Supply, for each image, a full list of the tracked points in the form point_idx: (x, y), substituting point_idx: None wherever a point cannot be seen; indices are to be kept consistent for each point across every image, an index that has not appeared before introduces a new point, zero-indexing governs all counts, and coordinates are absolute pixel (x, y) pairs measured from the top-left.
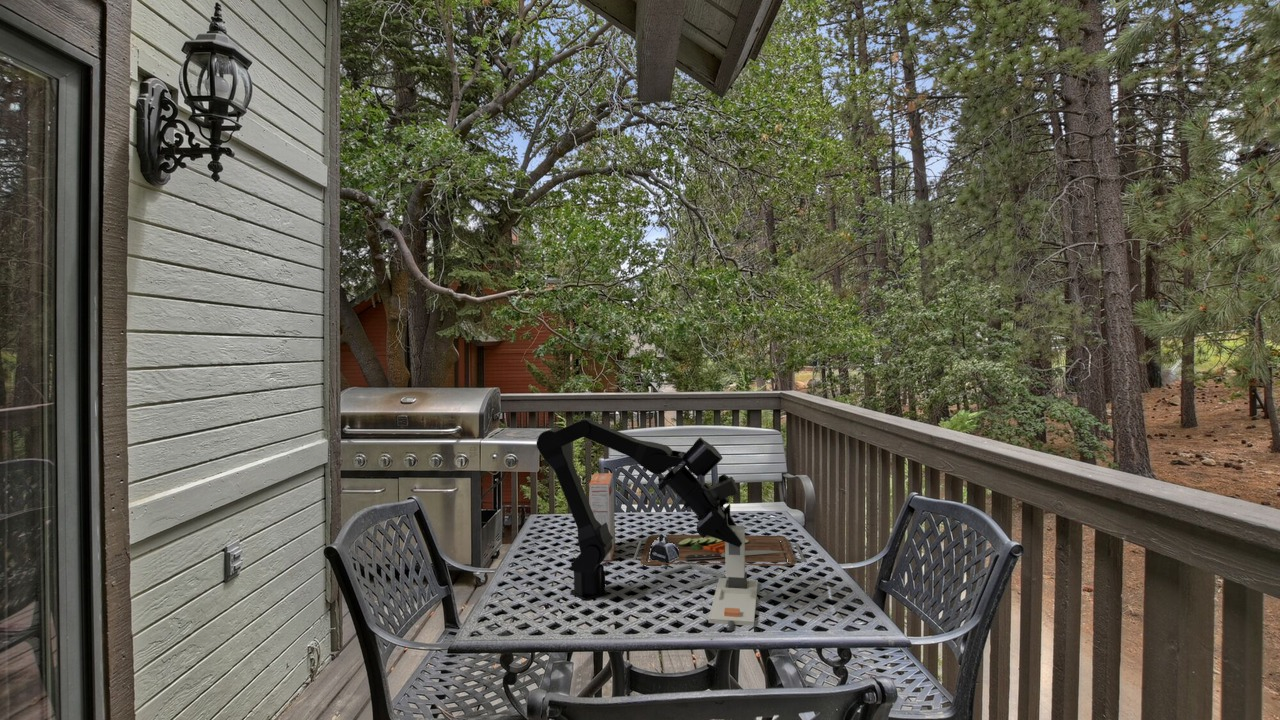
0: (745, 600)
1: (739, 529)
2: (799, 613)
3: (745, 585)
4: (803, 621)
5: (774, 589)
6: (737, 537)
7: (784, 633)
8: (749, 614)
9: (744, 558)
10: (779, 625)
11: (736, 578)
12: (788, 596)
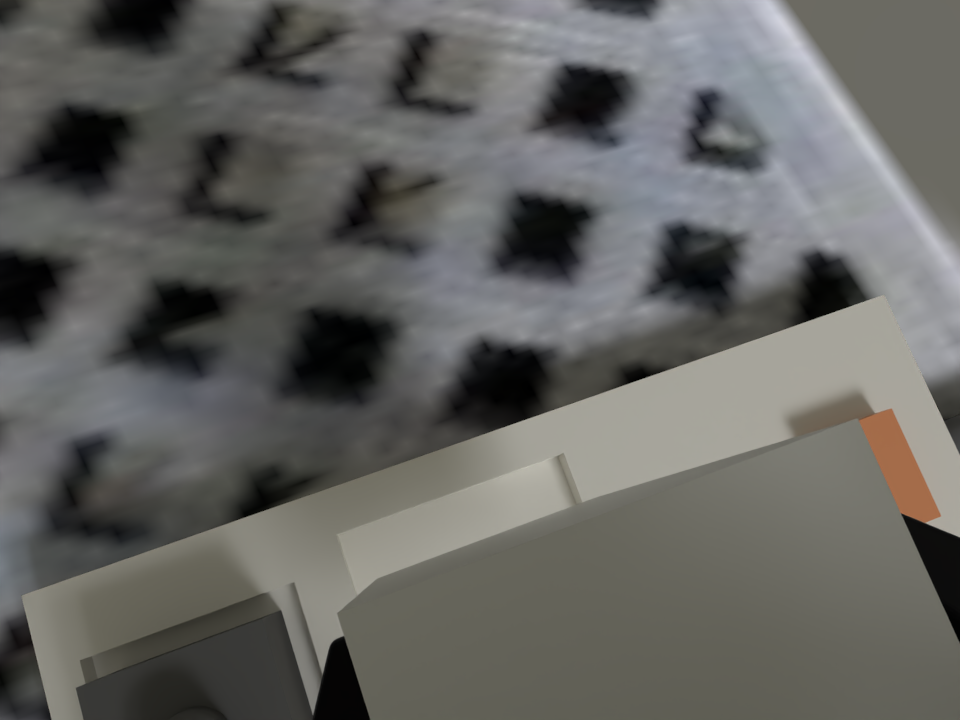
0: (483, 529)
1: (728, 597)
2: (453, 137)
3: (276, 618)
4: (566, 83)
5: (54, 439)
6: (922, 531)
7: (793, 135)
8: (792, 365)
9: (495, 537)
10: (703, 194)
11: (292, 714)
12: (167, 291)
